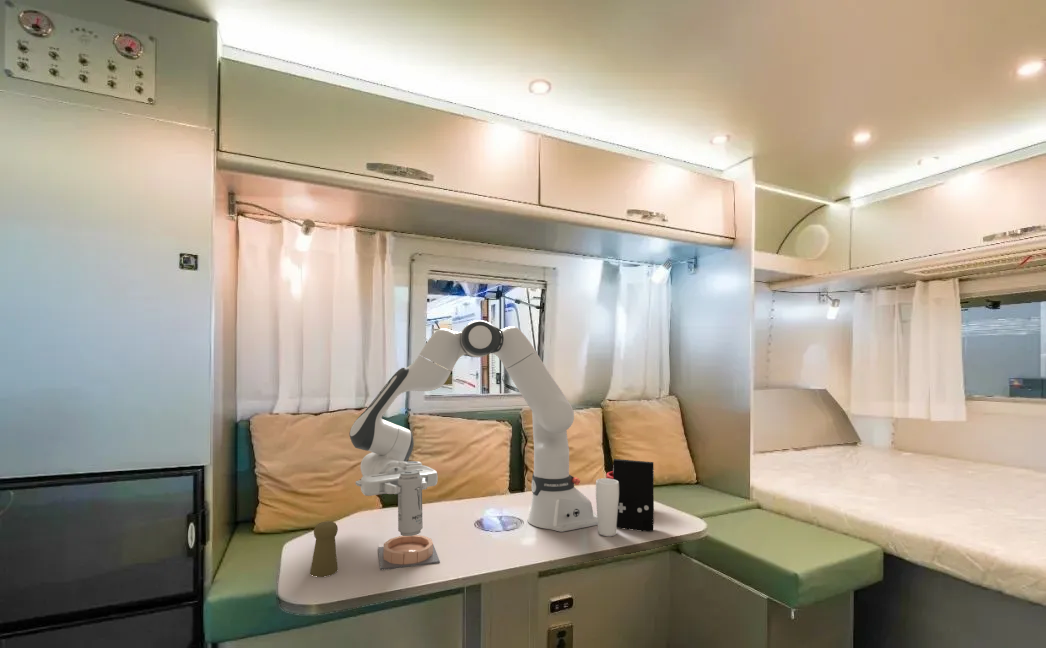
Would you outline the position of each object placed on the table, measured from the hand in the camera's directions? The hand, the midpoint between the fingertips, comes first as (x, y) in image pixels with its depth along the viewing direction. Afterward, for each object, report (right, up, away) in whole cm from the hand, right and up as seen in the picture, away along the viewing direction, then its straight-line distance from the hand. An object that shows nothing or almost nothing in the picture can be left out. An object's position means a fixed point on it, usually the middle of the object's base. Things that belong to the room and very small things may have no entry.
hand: (411, 488), depth 122 cm
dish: (-1, -17, 0) cm, 17 cm away
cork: (-18, -16, -10) cm, 26 cm away
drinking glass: (+53, -19, +17) cm, 59 cm away
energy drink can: (0, -11, 0) cm, 11 cm away
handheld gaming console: (+62, -20, +22) cm, 69 cm away
